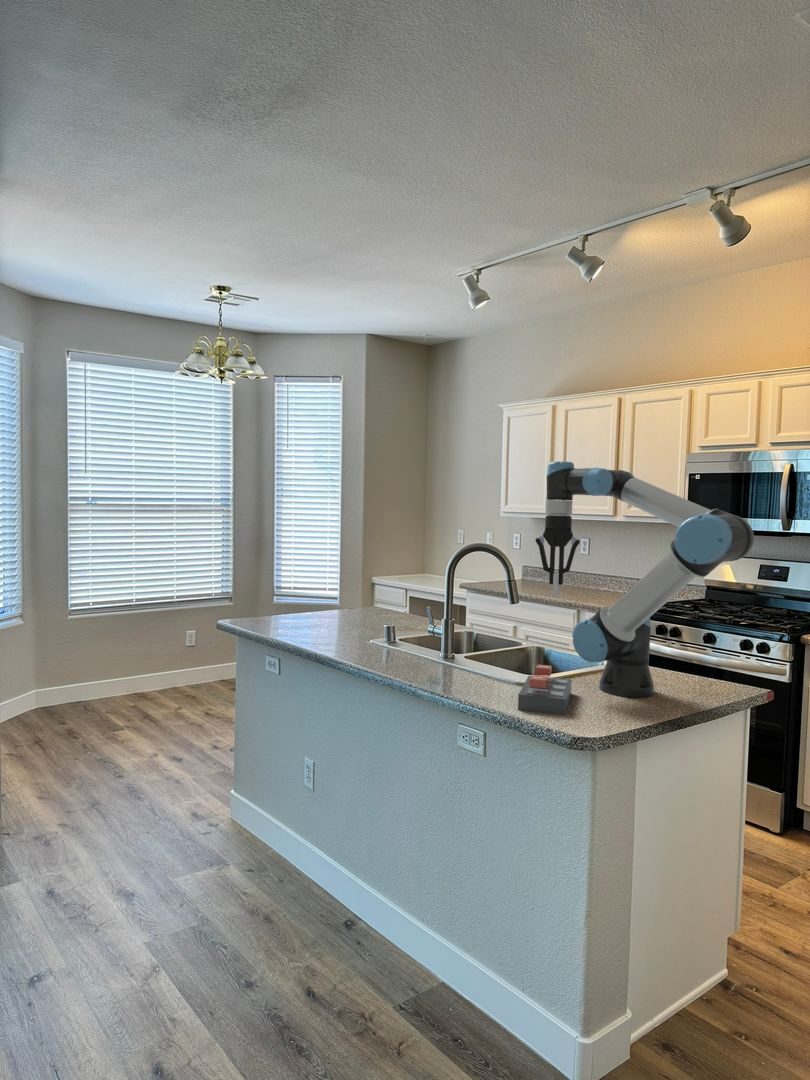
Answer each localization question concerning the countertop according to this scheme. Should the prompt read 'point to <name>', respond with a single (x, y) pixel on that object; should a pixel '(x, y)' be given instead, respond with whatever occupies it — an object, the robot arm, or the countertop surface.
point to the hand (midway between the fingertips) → (555, 595)
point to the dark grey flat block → (546, 696)
